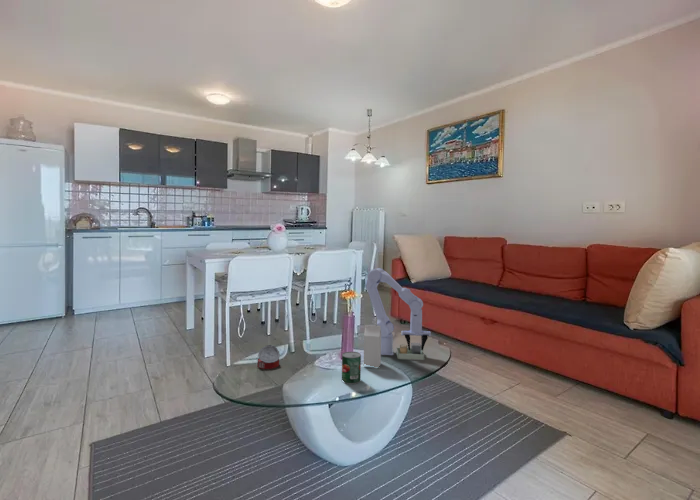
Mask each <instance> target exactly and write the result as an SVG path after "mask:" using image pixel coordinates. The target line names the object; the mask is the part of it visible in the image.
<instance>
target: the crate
mask: <svg viewBox="0 0 700 500" xmlns="http://www.w3.org/2000/svg"><path fill="white" fill-rule="evenodd" d="M395 350H396V351H395V353H396V357H397V360H409V361H410V360H413V361H414V360H415V361H416V360H419V361H425V359H426V357H425V352H424V350H423V351H422V350H421V354H411V347H410V350H408V347H407V354H400V347H396V348H395Z"/></svg>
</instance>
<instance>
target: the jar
mask: <svg viewBox="0 0 700 500" xmlns="http://www.w3.org/2000/svg"><path fill="white" fill-rule="evenodd" d="M399 348H400V354H407V348H408V344H400V345H399Z"/></svg>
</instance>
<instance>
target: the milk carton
mask: <svg viewBox="0 0 700 500" xmlns="http://www.w3.org/2000/svg"><path fill="white" fill-rule="evenodd" d="M364 327H365V328H364V334H363V365H364V364H366V365H370V366H374V367H379V366H380V367H381V364H382V363H381V362H382V355H381V326H377V325H372V324H370V325H368V324H365V325H364ZM380 367H379V368H380Z"/></svg>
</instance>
